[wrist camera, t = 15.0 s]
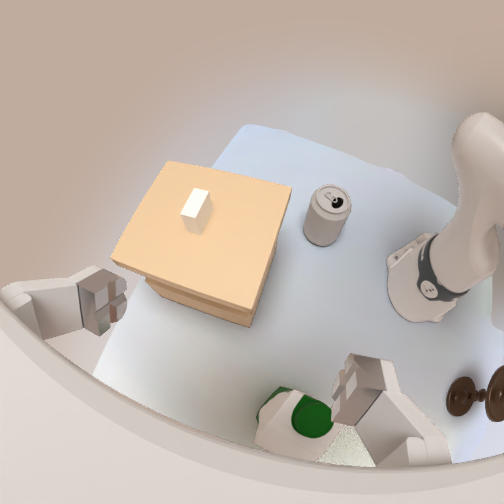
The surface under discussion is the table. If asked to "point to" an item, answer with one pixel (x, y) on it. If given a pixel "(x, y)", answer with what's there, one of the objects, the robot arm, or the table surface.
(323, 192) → the can
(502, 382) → the candlestick
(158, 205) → the carton lid
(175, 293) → the carton
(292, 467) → the robot arm
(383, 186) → the table surface
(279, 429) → the milk carton
